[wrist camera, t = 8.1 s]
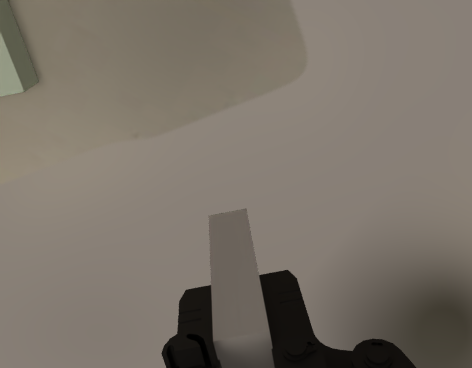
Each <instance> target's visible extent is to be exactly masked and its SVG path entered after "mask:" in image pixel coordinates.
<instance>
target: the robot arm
mask: <svg viewBox="0 0 472 368" xmlns="http://www.w3.org/2000/svg"><path fill="white" fill-rule="evenodd" d="M209 235H210V265H211V285H209V286H204V287H198V288H193V289H188V290H186V291H185V293H184V294H183V296H182V298H181V299H180V301H179V316H178V332H177V334H176V335H175V336H174V337H172V338H170V339H169V341H168V342H167V343H166V344H165V345H164V348H163V351H162V356H163V359H164V362H165V365H166V368H416V367H415V366H414V364H413V363H412V362H411V361H410V360H409V359H408V358H407V357H406V356H405V354H404V353H403V352H402V351H401V350H400V349H399V348H398V347H397V346H395V345H394V344H393V343H390V342H388V341H385V340H382V339H370V340H365V341H362V342H361V343H359V344H358V345H356V347H355V348H354V350H353V351H346V350H338V349H332V348H330V347H328V346H325V345H324V344H322V343H321V342H320V341H319V340H318V339H317V338H316V337H315V335H314V333H313V329H312V326H311V323H310V320H309V317H308V313H307V310H306V307H305V304H304V301H303V297H302V294H301V291H300V288H299V284H298V281H297V278H296V277H295V276H294V275H293V274H291V273H290V272H289V271H288V270H284V271H279V272H274V273H269V274H263V275H259V273H258V268H257V263H256V257H255V252H254V247H253V242H252V237H251V231H250V226H249V221H248V215H247V210H246V209H242V210H236V211H232V212H226V213H221V214H215V215H210V216H209Z"/></svg>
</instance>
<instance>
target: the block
mask: <svg viewBox="0 0 472 368" xmlns="http://www.w3.org/2000/svg"><path fill="white" fill-rule="evenodd" d="M38 82H39V81H38V78H37V75H36V73H35V70H34V68H33V65H32V62H31V60H30V57H29V55H28V52H27V49H26V47H25V44H24V41H23V39H22V36H21V34H20V31H19V28H18V26H17V23H16V21H15V18H14V15H13V13H12V10H11V8H10V5H9V2H8V0H0V97H1V96H6V95H11V94H16V93H21V92H25V91H26V90H28V89H29V88H31V87H32V86H33V85H35V84H36V83H38Z"/></svg>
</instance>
